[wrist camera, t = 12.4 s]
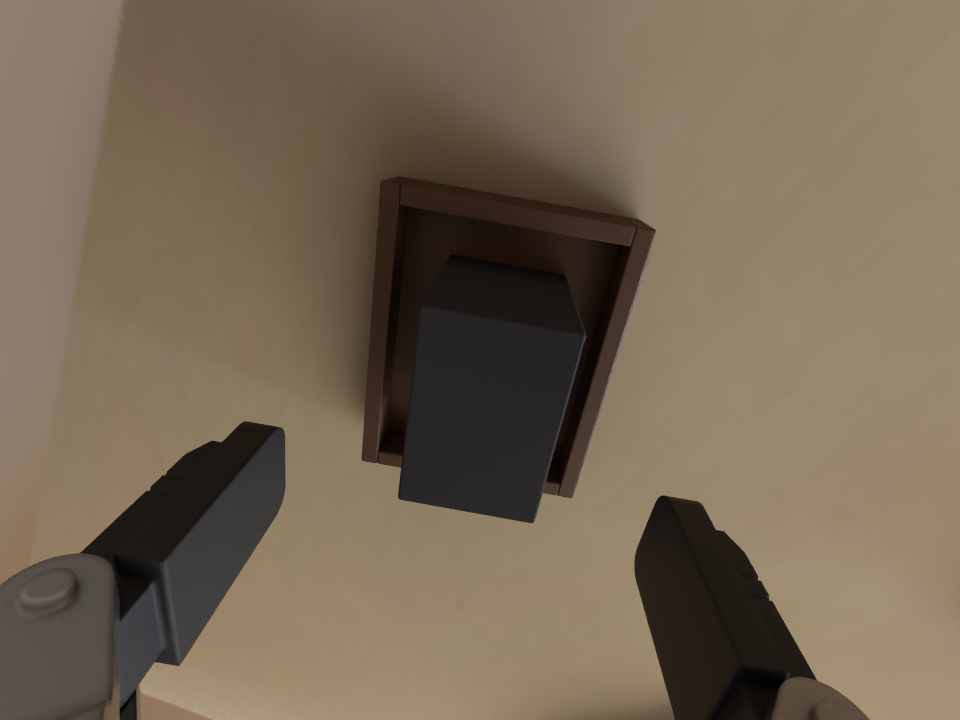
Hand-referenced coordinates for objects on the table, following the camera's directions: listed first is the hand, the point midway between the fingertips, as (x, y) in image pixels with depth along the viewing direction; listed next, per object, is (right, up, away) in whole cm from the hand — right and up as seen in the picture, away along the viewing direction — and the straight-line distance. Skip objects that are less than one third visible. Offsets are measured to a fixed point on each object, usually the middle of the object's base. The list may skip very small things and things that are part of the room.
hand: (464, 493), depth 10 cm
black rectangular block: (+1, +3, +7) cm, 8 cm away
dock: (+1, +4, +8) cm, 9 cm away
